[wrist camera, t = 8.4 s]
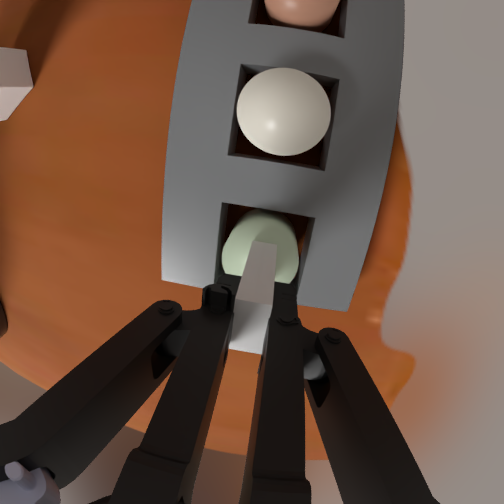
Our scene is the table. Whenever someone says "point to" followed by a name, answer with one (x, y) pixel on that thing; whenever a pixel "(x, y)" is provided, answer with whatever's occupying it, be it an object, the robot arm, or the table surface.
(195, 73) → the button panel
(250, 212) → the button sage
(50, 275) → the table surface
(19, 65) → the milk
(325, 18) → the button terracotta
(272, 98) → the button cream
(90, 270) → the table surface
